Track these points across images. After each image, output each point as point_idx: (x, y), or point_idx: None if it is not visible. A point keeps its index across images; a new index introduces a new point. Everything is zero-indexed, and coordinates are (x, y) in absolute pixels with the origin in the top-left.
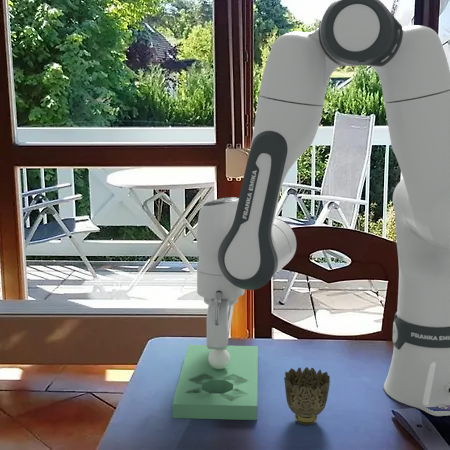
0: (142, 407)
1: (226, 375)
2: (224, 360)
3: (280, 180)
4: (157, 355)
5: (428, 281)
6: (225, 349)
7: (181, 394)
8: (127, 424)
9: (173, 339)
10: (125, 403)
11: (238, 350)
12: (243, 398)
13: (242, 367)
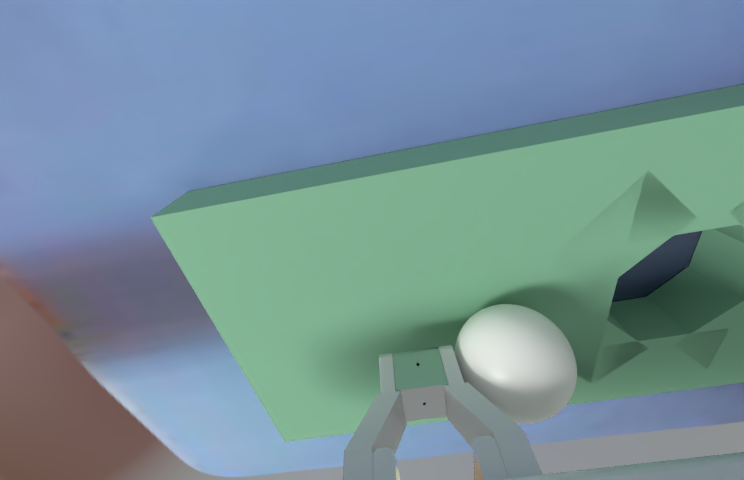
0: (644, 404)
1: (569, 281)
2: (565, 339)
3: None
4: (317, 452)
5: None
6: (393, 360)
7: (719, 372)
8: (732, 405)
9: (187, 451)
10: (614, 433)
11: (262, 293)
12: None
13: (472, 235)
